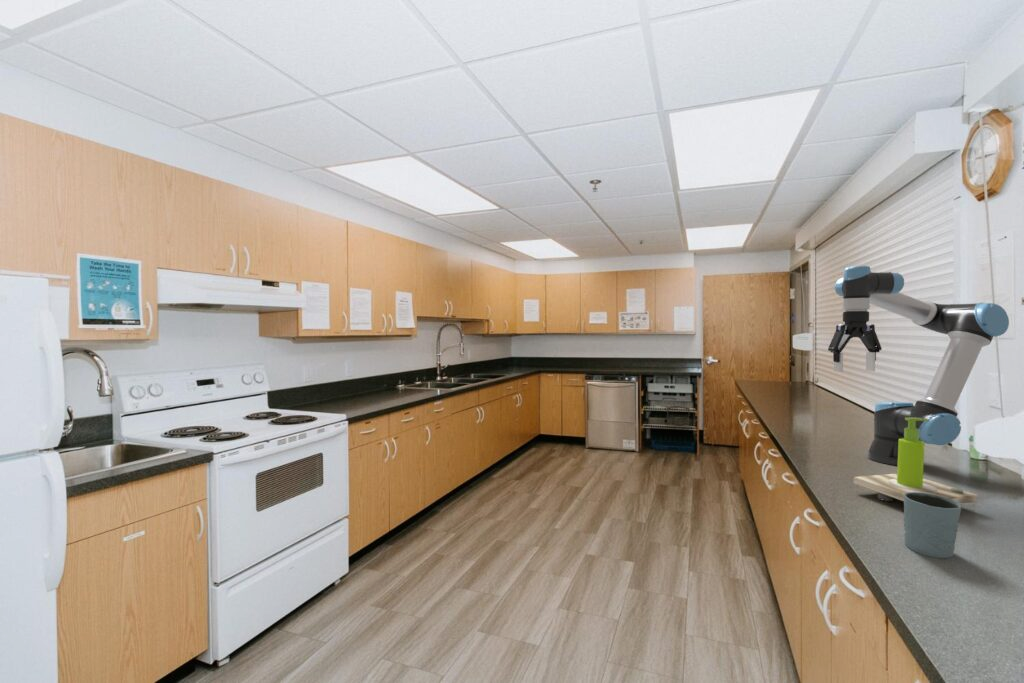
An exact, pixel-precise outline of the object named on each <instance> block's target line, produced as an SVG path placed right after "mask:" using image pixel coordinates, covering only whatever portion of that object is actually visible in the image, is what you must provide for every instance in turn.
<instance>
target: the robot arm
mask: <svg viewBox="0 0 1024 683" xmlns="http://www.w3.org/2000/svg"><path fill="white" fill-rule="evenodd" d="M843 271H844V272H843V276H842V277H841V278H839V279H838V280H837V281H836V282H835V285H834V291H835V293H836V294H837V295H838V296H840V297H842V298H843V299H842V300H843V302H842V310H843V312H842V322H843V323H844V324H836V326H835V331H834V334H833V336H832V338H831V341H830V344H829V346H828V348H827V350H828V351H829V352H830V353H833V360H832V361H833V362H834V366H833V369H834V370H833V371H834V372H836V373H837V372H839V373H842V372H844V353H842V351H844V349H845V347H846V346H847V344H848V343H849V341H851V339H853V338H859V340H861V342H862V344H863V345H864V347H865V348H866V349H867V351H866V353H865V371H869V372H870V371H872V372H874V371H876V360H877V353H880V351H882V349H883V348H882V346H881V343H880V341H879V338H878V335H877V331H876V329H875V328H876V326H875V324H869V323H868V322H869V321H870V312H869V311H868V310H870V305H872V306H876V307H878V308H881V309H883V310H886V311H888V312H891V313H893V314H897V315H898V316H900V317H904V318H906V319H909V320H911V322H912V323H913V324H915V325H917V326H920V327H922V328H925V329H927V330H930V331H932V332H933V331H934V332H936V333H940V334H943V335H947V336H948V337H949V338H950V340H949V343H948V345H947V348H946V349H945V352H944V354H943V356H942V357H941V358H942V359H941V360H940V362H939V364H938V366H937V370H936V371H935V373H934V376H933V377H932V379H931V382H930V384H929V386H928V388H927V390H926V393H925V395H924V397H923V398H921V399H917V400H916V402H915V404H914V403H913V402H911V401H879V402H877V403H876V404H875V406H874V411H873V412H874V413H873V414H874V415H873V416H874V417H873V418H874V419H873V422H874V424H873V425H874V426H873V440H872V443H871V445H870V447H869V449H868V451H867V458H868V459H869V460H871V461H874V462H876V463H877V462H878V463H881V464H886V465H891V466H892V465H893V466H898V440H899V439H902V438H904V428H907V427H908V420H905V418H908V417H916V418H922V419H926V420H929V422H926V421H916V427H915V428H917V429H918V430H919V440H920V441H923V442H924V444H927V445H935V446H945V445H948V444H951V443H952V442H954V441H955V440H956V439H957V438H958V437H959V435H960V434H961V431H962V426H961V421H960V419H959V418H958V414H959V413H958V411H957V410H956V405H957V403H958V400H959V398H960V396H961V394H962V392H963V390H964V388H965V385H966V383H967V381H968V379H969V377H970V374H971V373H972V370H973V368H974V366H975V364H976V361H977V360H978V358H979V354H981V351H982V348H983V347H987V346H989V345H991V343H992V340H993V338H994V337H1000V336H1002V335H1004V334H1005V333H1006V332H1008V329H1009V325H1010V319H1009V316H1008V314H1007V312H1006V310H1005V309H1004V308H1003V307H1002V306H1001V305H999V304H997V303H993V302H991V303H990V302H977V303H957V304H956V303H953V304H945V303H943V304H942V303H936V302H934V301H929V300H927V301H922V300H920V299H917V298H915V297H911V296H909V295H907V294H904V293H901V291H902V290H903V289H904V286H905V278H904V276H903V275H902V274H900V273H898V272H892V271H890V272H889V271H888V272H887V271H885V272H882V271H881V272H874V271H873V272H872V271H871V267H870V266H869V265H854V266H847V267H846V268H844V270H843Z"/></svg>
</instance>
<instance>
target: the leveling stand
mask: <svg viewBox="0 0 1024 683" xmlns="http://www.w3.org/2000/svg"><path fill="white" fill-rule="evenodd" d="M853 484H855V485H858V486H860V487H863V488H866V489H868V490H871V491H875V492H877V497H878V498H880V499H883V500H887V501H894V502H895V499H897V500H899V501H901V502H904V494H905V493H908V492H920V493H927V494H933V495H937V496H942V497H945V498H948V499H951V500H953V501H955V502H957V503H959V504H960V505H961V504H969V503H977V502H978V494H975V493H972V492H969V491H965V490H963V489H960V488H956V487H954V486H953V487H952V486H949V485H946V484H943V483H940V482H936V481H933V480H929V479H926V478H923V487H919V488H917V487H909V486H904V485H901V484H899V483H897V473H889V474H888V473H887V474H874V475H863V476H854V477H853ZM877 497H876V498H877ZM878 498H877V499H878ZM880 499H879V500H880ZM887 501H886V502H887Z"/></svg>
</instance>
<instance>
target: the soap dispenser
mask: <svg viewBox="0 0 1024 683" xmlns="http://www.w3.org/2000/svg"><path fill="white" fill-rule="evenodd" d="M905 420H908V427H907V428H904V438H902V439H899V440H898V465H897V469H896V470H897V473H896V474H897V483H899V484H901V485H904V486H909V487H917V488H919V487H923V479H924V459H925V443H924V442H923V441H920V440H919V430H918V429H917V428H915V427H916V421H926V422H929V420H926V419H922V418H916V417H908V418H905Z"/></svg>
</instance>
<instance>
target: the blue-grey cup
mask: <svg viewBox="0 0 1024 683" xmlns="http://www.w3.org/2000/svg"><path fill="white" fill-rule="evenodd" d="M903 511H904V512H903V513H904V514H903V515H904V516H903V521H904V522H903V527H904V531H905V532H904V545H905V546H906V547H907V549H909V550H911V551H913V552H915V553H917V554H920V555H924V556H927V557H932V558H937V559H950V558H952V557H953V556H954V553H955V545H956V540H957V535H958V534H957V532H958V528H959V525H958V524H959V521H960V516H961V512H962V505H961V503H960V504H959V503H957V502H955V501H953V500H951V499H948V498H945V497H942V496H937V495H933V494H927V493H920V492H908V493H905V494H904V501H903Z"/></svg>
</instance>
